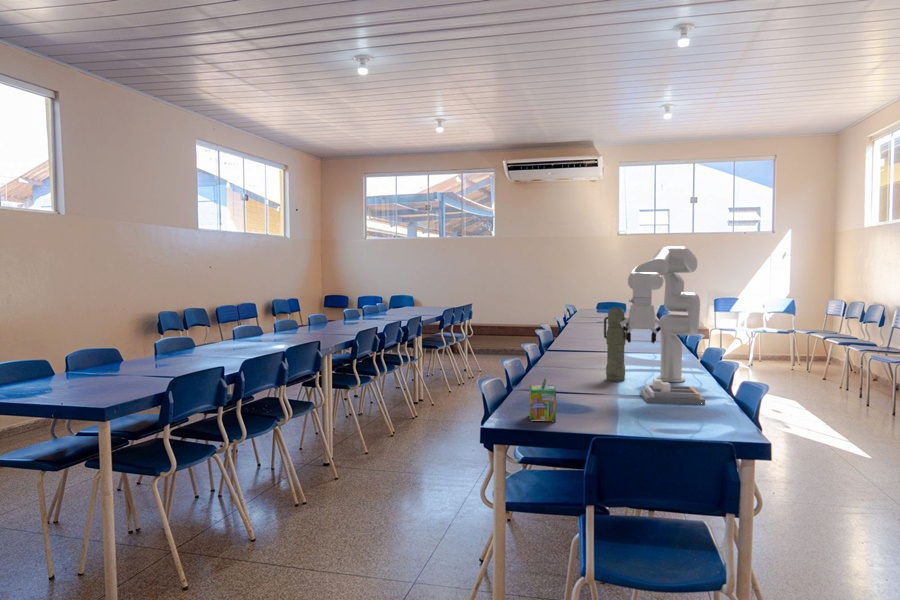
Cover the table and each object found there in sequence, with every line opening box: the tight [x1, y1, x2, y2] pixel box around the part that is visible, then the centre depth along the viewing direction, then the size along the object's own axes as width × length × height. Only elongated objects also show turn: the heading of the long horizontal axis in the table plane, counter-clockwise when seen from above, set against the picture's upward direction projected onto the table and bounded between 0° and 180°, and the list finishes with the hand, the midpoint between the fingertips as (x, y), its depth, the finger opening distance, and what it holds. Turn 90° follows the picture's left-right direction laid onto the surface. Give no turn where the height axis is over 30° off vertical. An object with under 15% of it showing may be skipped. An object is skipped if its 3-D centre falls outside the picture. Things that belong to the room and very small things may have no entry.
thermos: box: [603, 306, 629, 382], centre depth 270 cm, size 9×12×35 cm
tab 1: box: [652, 378, 663, 389], centre depth 234 cm, size 3×4×5 cm
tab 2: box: [660, 381, 672, 392], centre depth 228 cm, size 3×4×5 cm
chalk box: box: [528, 377, 557, 422], centre depth 201 cm, size 9×9×15 cm
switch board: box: [640, 384, 706, 405], centre depth 230 cm, size 22×16×4 cm
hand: (641, 342), depth 235 cm, fingers open, 9 cm apart
